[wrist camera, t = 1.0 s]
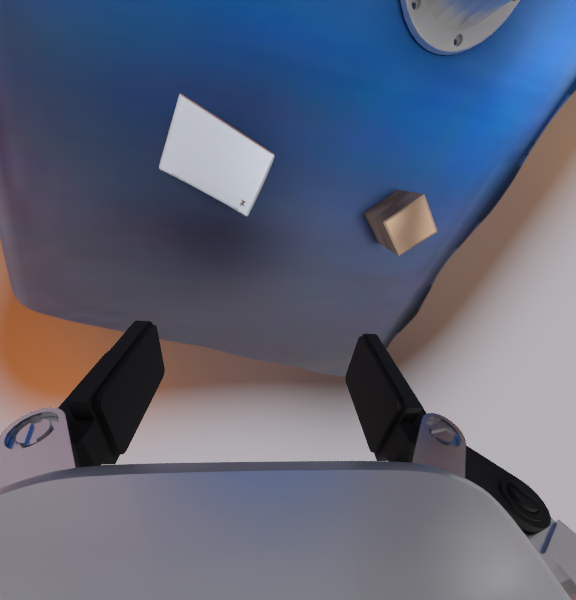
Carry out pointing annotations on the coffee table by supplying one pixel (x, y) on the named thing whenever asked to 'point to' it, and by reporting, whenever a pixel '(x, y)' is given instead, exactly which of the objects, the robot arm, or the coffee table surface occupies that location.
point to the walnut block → (401, 221)
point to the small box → (214, 156)
